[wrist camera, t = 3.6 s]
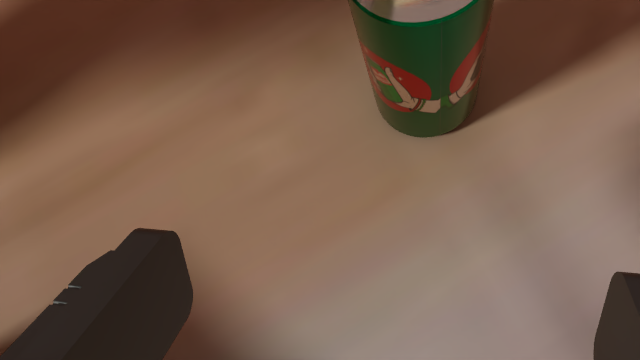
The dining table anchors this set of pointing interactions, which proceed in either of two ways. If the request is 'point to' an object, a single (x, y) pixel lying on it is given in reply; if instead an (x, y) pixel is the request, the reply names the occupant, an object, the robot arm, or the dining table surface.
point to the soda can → (423, 59)
